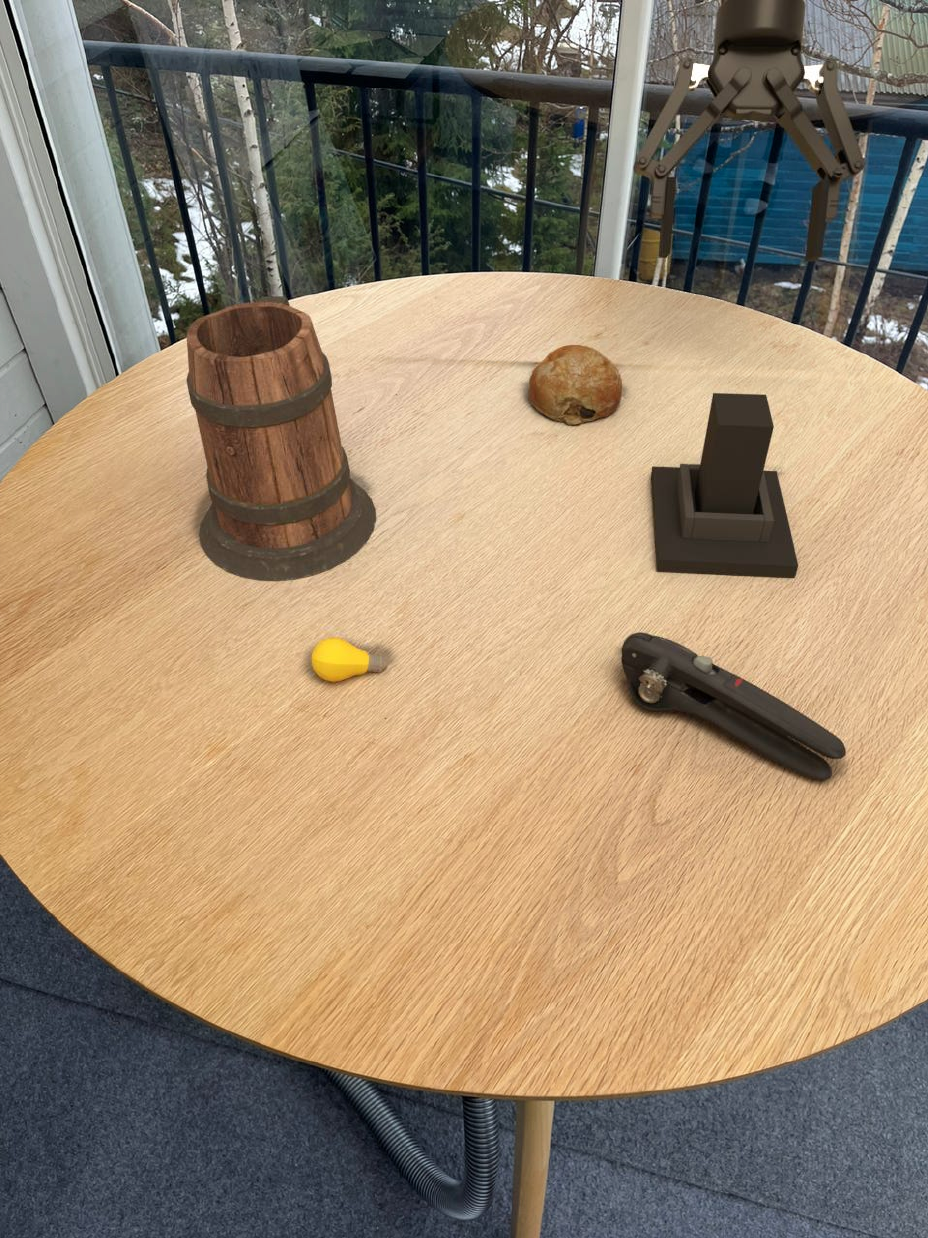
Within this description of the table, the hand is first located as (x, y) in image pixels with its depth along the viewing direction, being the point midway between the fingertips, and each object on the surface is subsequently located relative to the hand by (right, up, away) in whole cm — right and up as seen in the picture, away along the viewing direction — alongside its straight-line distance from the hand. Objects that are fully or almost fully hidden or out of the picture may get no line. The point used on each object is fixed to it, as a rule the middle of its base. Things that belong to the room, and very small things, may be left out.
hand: (738, 257), depth 87 cm
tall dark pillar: (-2, -24, 0) cm, 24 cm away
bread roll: (-13, -9, +17) cm, 24 cm away
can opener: (-6, -42, -16) cm, 45 cm away
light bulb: (-35, -38, -11) cm, 53 cm away
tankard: (-42, -22, +5) cm, 48 cm away
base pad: (-2, -25, +1) cm, 25 cm away
